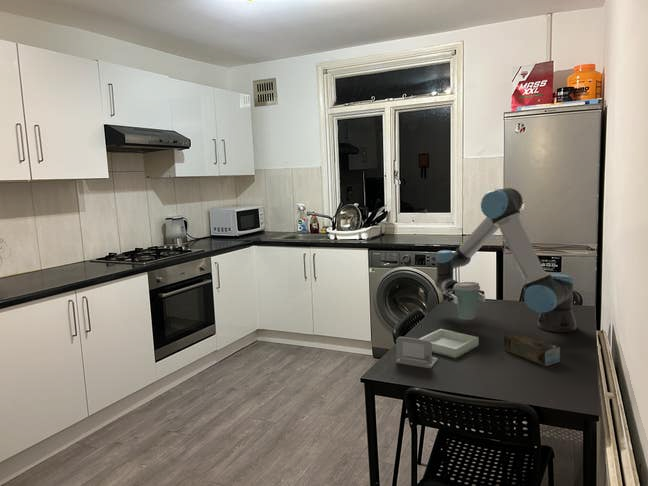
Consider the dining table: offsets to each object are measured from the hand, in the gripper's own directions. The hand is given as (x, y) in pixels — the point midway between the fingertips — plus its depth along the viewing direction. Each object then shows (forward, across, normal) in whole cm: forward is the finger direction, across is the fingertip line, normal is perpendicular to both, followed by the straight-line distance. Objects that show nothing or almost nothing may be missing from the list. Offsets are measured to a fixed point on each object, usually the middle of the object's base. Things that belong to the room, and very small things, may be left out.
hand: (470, 299), depth 202 cm
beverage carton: (+24, -13, -17) cm, 32 cm away
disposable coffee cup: (-4, 0, -9) cm, 10 cm away
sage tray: (+9, +13, -16) cm, 22 cm away
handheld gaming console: (+21, +29, -16) cm, 39 cm away
